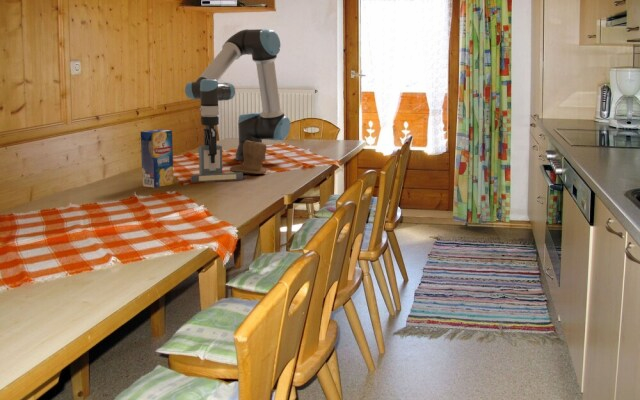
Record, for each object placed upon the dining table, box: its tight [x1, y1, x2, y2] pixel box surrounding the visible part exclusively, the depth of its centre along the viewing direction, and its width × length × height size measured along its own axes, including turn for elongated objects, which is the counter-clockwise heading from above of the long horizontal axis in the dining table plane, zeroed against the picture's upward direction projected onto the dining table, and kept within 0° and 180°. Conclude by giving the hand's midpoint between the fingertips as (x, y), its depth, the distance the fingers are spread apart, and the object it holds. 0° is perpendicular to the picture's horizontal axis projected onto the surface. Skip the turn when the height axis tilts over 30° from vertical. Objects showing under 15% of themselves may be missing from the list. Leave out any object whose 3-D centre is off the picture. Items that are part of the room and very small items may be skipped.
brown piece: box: [229, 140, 267, 175], centre depth 345 cm, size 15×12×15 cm
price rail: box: [190, 172, 244, 184], centre depth 326 cm, size 2×22×3 cm, turn 111°
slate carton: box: [198, 144, 223, 174], centre depth 336 cm, size 9×5×12 cm, turn 111°
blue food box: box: [140, 129, 175, 188], centre depth 314 cm, size 7×11×22 cm, turn 148°
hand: (210, 169), depth 337 cm, fingers closed on slate carton, 5 cm apart
